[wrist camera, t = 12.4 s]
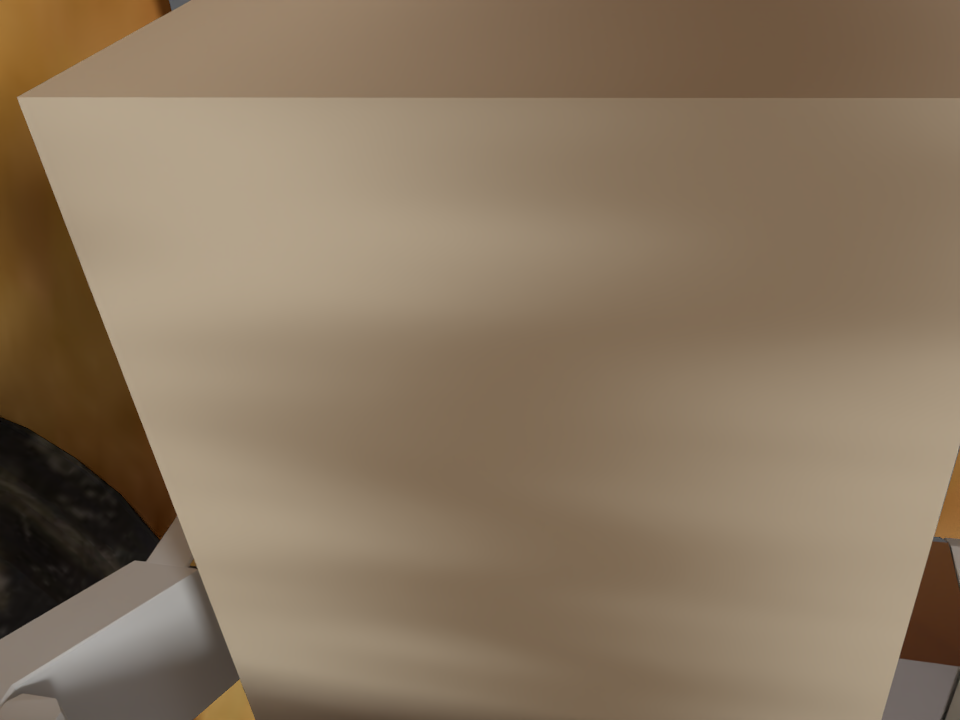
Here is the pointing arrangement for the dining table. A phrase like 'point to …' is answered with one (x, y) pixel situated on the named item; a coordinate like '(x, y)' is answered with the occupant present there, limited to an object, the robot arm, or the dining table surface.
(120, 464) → the dining table surface
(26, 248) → the dining table surface
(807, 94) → the wooden block
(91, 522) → the lantern
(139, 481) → the dining table surface
